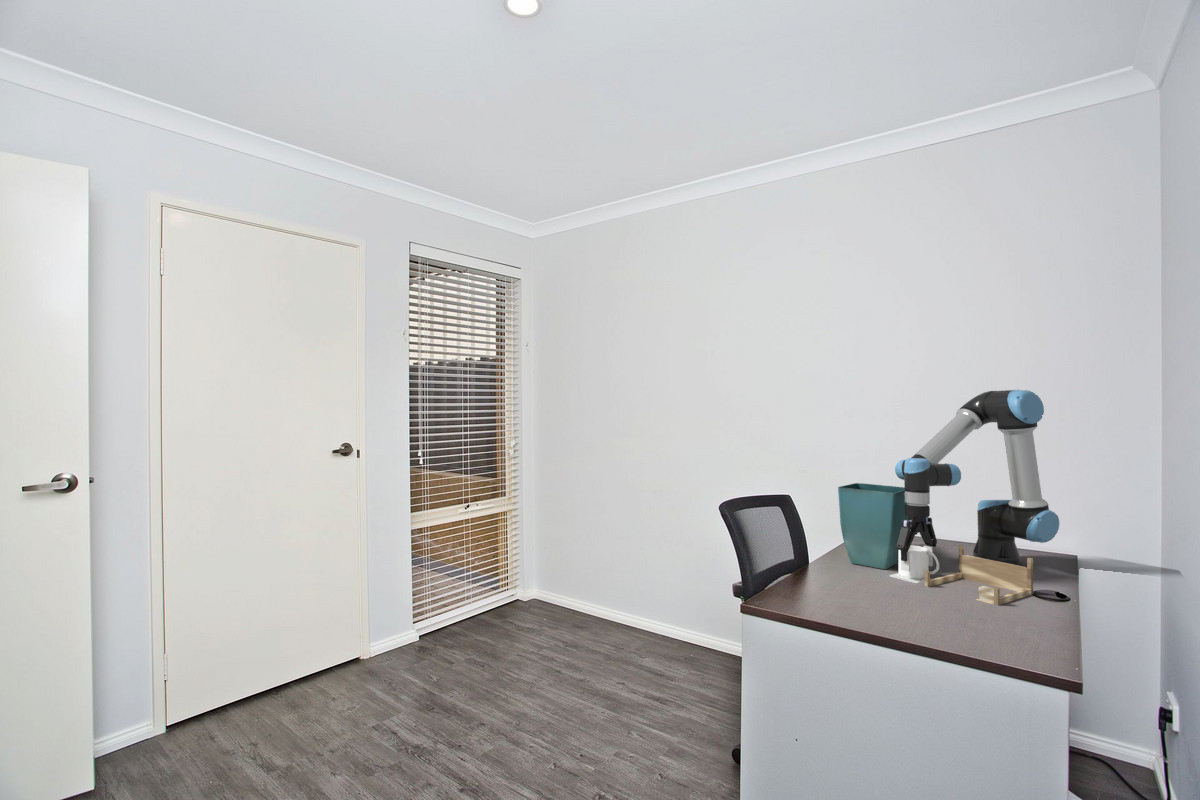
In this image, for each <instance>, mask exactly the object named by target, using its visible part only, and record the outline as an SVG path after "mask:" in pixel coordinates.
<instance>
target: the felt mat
mask: <svg viewBox="0 0 1200 800" xmlns="http://www.w3.org/2000/svg"><path fill="white" fill-rule="evenodd" d="M889 577H890V578H893V579H898V580H901V581H904V582H909V583H913V584H918V583H920V582H921V581H922V580H923V579H911V578H906V577H903V576H901V575H899V573H898V572H896V573H892V574H890V575H889Z"/></svg>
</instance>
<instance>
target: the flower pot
mask: <svg viewBox="0 0 1200 800" xmlns="http://www.w3.org/2000/svg"><path fill="white" fill-rule="evenodd" d="M837 491H838V506H839V522H840V523H839V524H840V529H841V534H842V539H843V544H844V547H845V550H846V552H847V556H848V559H849V561H850V563H851V564H854V565H859V566H865V567H870V568H874V569H875V568H876V569H879V570H880V569H881V570H887V569H890V568H892V567H893V566H894V565H896V564H898V549H897V548H896V546H897V542H898V538H899V534H900V530H901V526H902V520H906V521H908V516H907V515H905V513H904V505H905V504H907V503H905V495H904V493H905V486H904V487H903V486H896V485H895V486H894V485H883V484H873V483H861V482H856V483H850V484H846V485H841V486H838V487H837Z"/></svg>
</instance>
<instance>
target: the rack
mask: <svg viewBox="0 0 1200 800" xmlns="http://www.w3.org/2000/svg"><path fill="white" fill-rule="evenodd" d="M1026 559H1027V560H1026V565H1027V567H1026V566H1021V565H1013V564H1008V563H1003V562H998V561H993V560H988V559H984V558H979V557H974V556H973V555H968V554H965V545H964V544H958V572H955V573H952V574H951V573H950V574H947V575H944V576H940V577H936V578H931V574H930V572H929V571H925V578H924V587H926V588H930V587H934V586H938V585H942V584H946V583H950V582H953V581H958V580H961V579H963V580H967V581H971V582H972V581H973V582H976V583H980V584H985V585H988V586H993V588H994V604H993V605H994V606H1001V605H1003V604H1007V603H1009V602H1010V603H1011V602H1013V601H1016V600H1019V599H1022V598H1026V597H1029V596H1032V595H1034V558H1031V557H1027V558H1026ZM1001 589H1005V590H1010V591H1014V592H1010V593H1007V594H1005V595H1001Z"/></svg>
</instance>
